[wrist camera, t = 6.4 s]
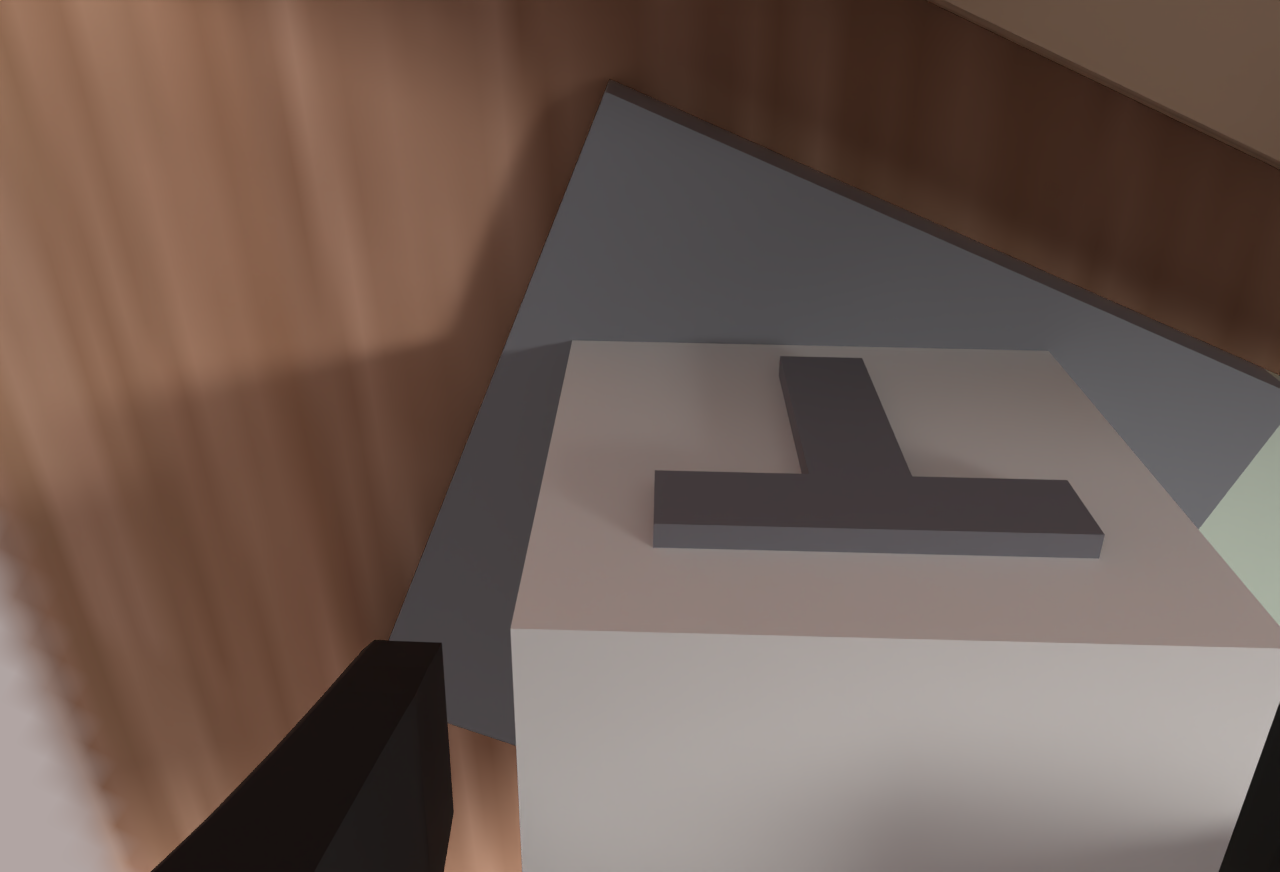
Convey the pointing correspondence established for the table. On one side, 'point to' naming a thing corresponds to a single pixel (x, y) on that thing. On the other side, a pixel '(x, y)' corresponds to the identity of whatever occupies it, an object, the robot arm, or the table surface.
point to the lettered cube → (871, 624)
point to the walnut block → (1161, 56)
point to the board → (800, 315)
